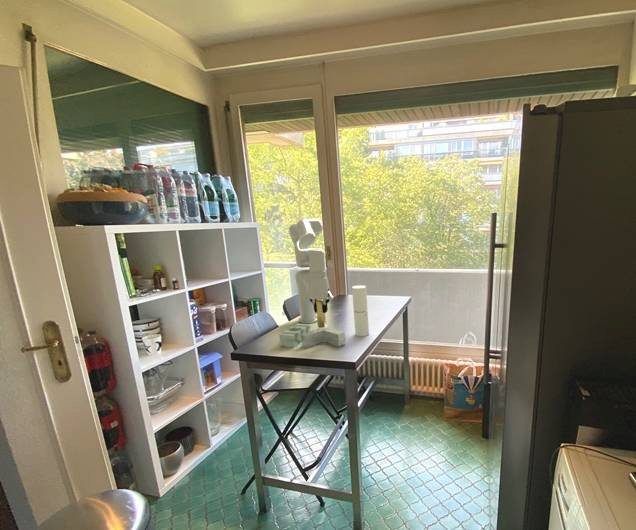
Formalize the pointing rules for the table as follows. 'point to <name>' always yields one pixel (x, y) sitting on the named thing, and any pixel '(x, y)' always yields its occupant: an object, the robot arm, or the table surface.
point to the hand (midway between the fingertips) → (320, 311)
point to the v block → (323, 337)
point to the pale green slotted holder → (293, 335)
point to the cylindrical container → (360, 310)
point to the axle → (320, 314)
